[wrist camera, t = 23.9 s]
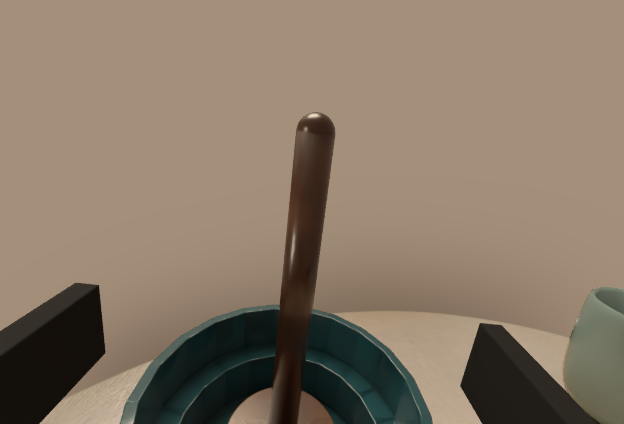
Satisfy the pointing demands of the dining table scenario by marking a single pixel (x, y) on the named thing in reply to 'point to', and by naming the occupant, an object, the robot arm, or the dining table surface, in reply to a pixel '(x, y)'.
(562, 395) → the robot arm
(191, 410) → the bowl
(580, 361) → the cup
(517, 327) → the dining table surface
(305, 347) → the wooden peg stand
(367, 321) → the dining table surface
